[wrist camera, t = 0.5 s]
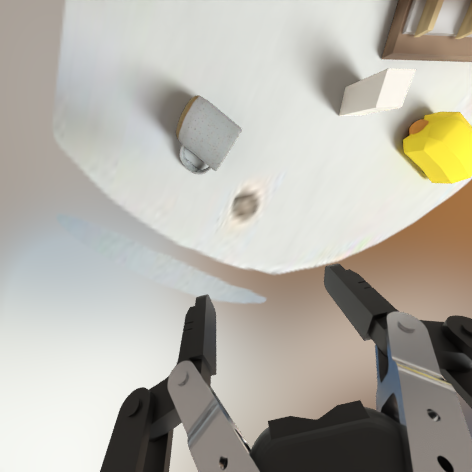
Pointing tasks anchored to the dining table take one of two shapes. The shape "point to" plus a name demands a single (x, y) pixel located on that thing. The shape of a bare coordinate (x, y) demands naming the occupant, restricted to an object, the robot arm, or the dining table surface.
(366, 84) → the loose white rectangular block
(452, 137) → the yellow faceted pepper
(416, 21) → the wooden ladder shelf
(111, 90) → the dining table surface
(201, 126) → the ceramic mug
